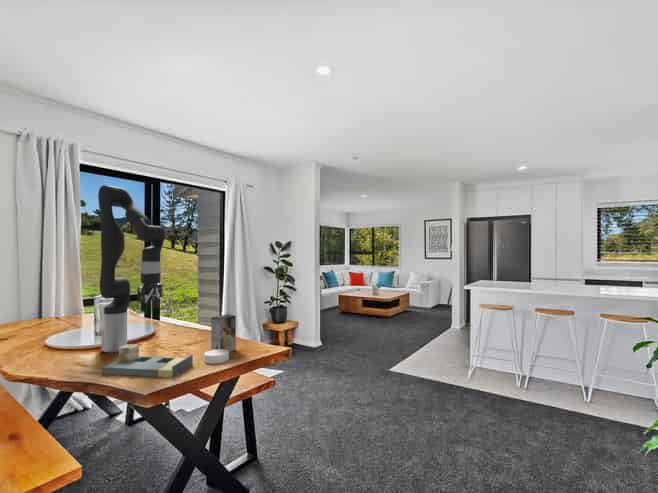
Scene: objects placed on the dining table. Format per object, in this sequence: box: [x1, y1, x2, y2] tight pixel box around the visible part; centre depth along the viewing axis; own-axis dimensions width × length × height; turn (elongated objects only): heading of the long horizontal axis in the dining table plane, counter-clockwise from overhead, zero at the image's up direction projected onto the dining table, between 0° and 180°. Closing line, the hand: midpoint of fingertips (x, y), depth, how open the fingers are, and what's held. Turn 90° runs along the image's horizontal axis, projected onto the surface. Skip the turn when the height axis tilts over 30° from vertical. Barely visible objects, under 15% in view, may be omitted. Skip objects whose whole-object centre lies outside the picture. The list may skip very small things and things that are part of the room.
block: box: [118, 343, 140, 361], centre depth 140 cm, size 5×5×5 cm
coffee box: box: [210, 314, 237, 353], centre depth 159 cm, size 9×6×16 cm
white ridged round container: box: [203, 349, 230, 365], centre depth 147 cm, size 10×10×4 cm
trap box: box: [101, 354, 194, 378], centre depth 135 cm, size 28×14×4 cm, turn 84°
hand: (149, 309), depth 149 cm, fingers open, 8 cm apart
